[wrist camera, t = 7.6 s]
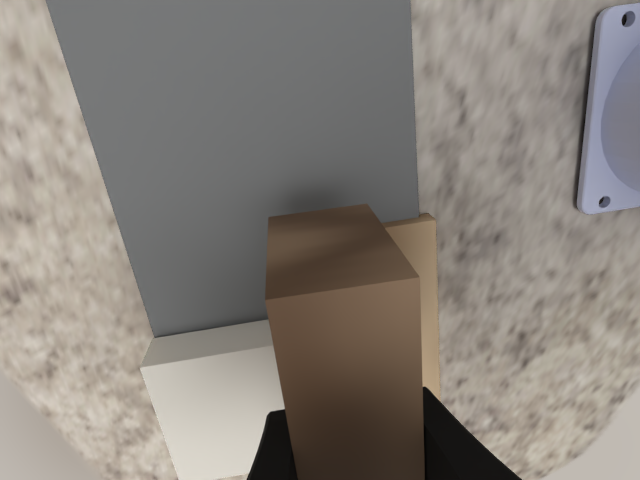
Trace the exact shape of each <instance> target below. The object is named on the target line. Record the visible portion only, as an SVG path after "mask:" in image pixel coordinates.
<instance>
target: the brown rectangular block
mask: <svg viewBox="0 0 640 480" xmlns="http://www.w3.org/2000/svg"><path fill="white" fill-rule="evenodd" d="M265 303H266V308H267V314H268V319H269V325H270V330H271V336H272V341H273V347H274V352H275V358H276V363H277V369H278V374H279V380H280V385H281V390H282V396H283V401H284V407H285V412H286V418H287V423H288V429H289V434H290V440H291V445H292V451H293V456H294V462H295V467H296V473H297V478H298V480H425V466H424V424H423V382H422V340H421V298H420V277H419V275H418V274H417V272H416V271H415V270H414V268H413V267H412V265H411V264H410V263H409V261H408V260H407V258H406V257H405V256H404V254H403V253H402V251H401V250H400V249H399V247H398V246H397V244H396V243H395V242H394V240H393V239H392V237H391V236H390V235H389V233H388V232H387V230H386V229H385V228H384V226H383V225H382V224H381V222H380V221H379V219H378V218H377V217H376V215H375V214H374V212H373V211H372V210H371V208H370V207H369V205H368V204H360V205H353V206H345V207H338V208H331V209H323V210H316V211H309V212H301V213H294V214H287V215H280V216H272V217H268V239H267V263H266V288H265Z"/></svg>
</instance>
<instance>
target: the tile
mask: <svg viewBox="0 0 640 480" xmlns="http://www.w3.org/2000/svg"><path fill="white" fill-rule="evenodd" d="M140 370H141V373H142V376H143V379H144V382H145V384H146V387H147V390H148V393H149V396H150V399H151V402H152V404H153V407H154V410H155V413H156V416H157V419H158V422H159V424H160V427H161V430H162V433H163V436H164V439H165V442H166V444H167V447H168V450H169V453H170V456H171V459H172V462H173V464H174V467H175V470H176V473H177V476H178V479H179V480H215V479H221V478H226V477H232V476H237V475H242V474H248V473H249V472H250V469H251V467H252V464H253V461H254V459H255V456H256V453H257V450H258V447H259V444H260V440H261V437H262V434H263V430H264V426H265V422H266V417H267V415H268V414H269V412H270V411H276V410H282V409H285V407H284V401H283V396H282V390H281V385H280V380H279V374H278V369H277V363H276V358H275V352H274V347H273V341H272V336H271V330H270V325H269V319H267V320H261V321H255V322H249V323H243V324H237V325H231V326H225V327H219V328H213V329H207V330H201V331H195V332H189V333H183V334H177V335H171V336H165V337H158V338H153V340H152V342H151V344H150V347H149V349H148V351H147V353H146V355H145V357H144V360H143V362H142V364H141V366H140Z"/></svg>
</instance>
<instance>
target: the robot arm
mask: <svg viewBox="0 0 640 480" xmlns="http://www.w3.org/2000/svg"><path fill="white" fill-rule="evenodd" d="M624 14H626V16H627V21H626V24H625V25H624V26H623V25H622V21H621V20H622V17H623V15H624ZM602 197H604V200H603V202H602V203H601V204H599V201H600V199H601V198H602ZM635 207H640V3H633V4H625V5H618V6H613V7H609V8H606V9H604V10H603V11H602V12H601V13H600V14H599V16H598V17H597V20H596V24H595V34H594V43H593V53H592V63H591V72H590V82H589V91H588V101H587V110H586V120H585V130H584V139H583V149H582V158H581V168H580V177H579V187H578V197H577V208H578V209H579V211H581V212H583V213H585V214H597V213H604V212H610V211H616V210H623V209H629V208H635ZM423 424H424V466H425V480H522V479H521V478H519V477H518V476H517V475H516V474H515V473H514V472H512V471H511V470H510V469H509V468H508V467H507V466H505V465H504V464H503V463H502V462H501V461H500V460H499V459H497V458H496V457H495V456H494V455H493V454H492V453H491V452H490V451H489V450H488V449H487V448H485V447H484V446H483V445H482V444H481V443H480V442H479V441H478V440H477V439H476V438H475V437H474V436H473V435H472V434H471V433H470V432H469V431H468V430H467V429H466V428H465V427H464V426H463V425H462V424H461V423H460V422H459V421H458V420H457V419H456V418H455V417H454V416H453V415H452V414H451V413H450V412H449V411H448V410H447V409H446V407H445V406H444V405H443V404H442V403H441V402H440V401H439V400H438V399H437V398H436V396H435V395H434V394H433V393H432V392H431V391H430V390H429V389H428V388H427V387H425V386H424V387H423ZM247 480H298V478H297V473H296V467H295V462H294V456H293V451H292V445H291V440H290V434H289V429H288V423H287V418H286V412H285V409H282V410H276V411H270V412H269V414H268V415H267V417H266V422H265V426H264V430H263V434H262V437H261V440H260V444H259V447H258V450H257V453H256V456H255V459H254V461H253V464H252V467H251V469H250V472H249V475H248V478H247Z"/></svg>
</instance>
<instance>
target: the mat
mask: <svg viewBox="0 0 640 480" xmlns="http://www.w3.org/2000/svg"><path fill="white" fill-rule="evenodd" d="M46 3H47V6H48V9H49V13H50V16H51V19H52V22H53V25H54V28H55V31H56V34H57V37H58V40H59V43H60V47H61V50H62V53H63V56H64V59H65V62H66V65H67V68H68V71H69V74H70V77H71V81H72V84H73V87H74V90H75V93H76V96H77V99H78V102H79V105H80V108H81V111H82V115H83V118H84V121H85V124H86V127H87V130H88V133H89V136H90V139H91V142H92V146H93V149H94V152H95V155H96V158H97V161H98V164H99V167H100V170H101V173H102V176H103V180H104V183H105V186H106V189H107V192H108V195H109V198H110V201H111V204H112V207H113V210H114V214H115V217H116V220H117V223H118V226H119V229H120V232H121V235H122V238H123V241H124V244H125V248H126V251H127V254H128V257H129V260H130V263H131V266H132V269H133V272H134V275H135V278H136V282H137V285H138V288H139V291H140V294H141V297H142V300H143V303H144V306H145V309H146V312H147V316H148V319H149V322H150V325H151V328H152V331H153V334H154V337H155V338H158V337H165V336H171V335H177V334H183V333H189V332H195V331H201V330H207V329H213V328H219V327H225V326H231V325H237V324H243V323H249V322H255V321H261V320H267V319H268V314H267V308H266V303H265V288H266V263H267V239H268V217H272V216H280V215H287V214H294V213H301V212H309V211H316V210H323V209H331V208H338V207H345V206H353V205H360V204H368V205H369V207H370V208H371V210H372V211H373V212H374V214H375V215H376V217H377V218H378V219H379V221H380V222H381V223H386V222H392V221H398V220H405V219H411V218H418V217H419V201H418V176H417V152H416V127H415V103H414V78H413V54H412V29H411V5H410V0H46Z"/></svg>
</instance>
